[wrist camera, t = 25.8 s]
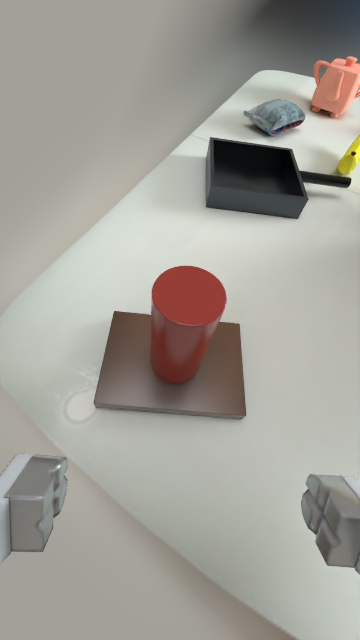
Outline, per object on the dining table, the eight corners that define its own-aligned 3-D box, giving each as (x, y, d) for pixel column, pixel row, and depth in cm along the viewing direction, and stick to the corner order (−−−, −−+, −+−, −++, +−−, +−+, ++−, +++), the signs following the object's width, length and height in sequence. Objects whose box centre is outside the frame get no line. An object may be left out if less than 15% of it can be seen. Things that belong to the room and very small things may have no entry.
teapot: (296, 96, 72) (316, 44, 64) (336, 99, 74) (360, 49, 66) (316, 122, 65) (342, 66, 56) (360, 124, 67) (391, 71, 58)
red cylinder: (147, 381, 26) (147, 321, 16) (153, 335, 28) (156, 261, 19) (199, 386, 26) (228, 330, 16) (200, 340, 28) (225, 269, 19)
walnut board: (96, 407, 25) (93, 403, 24) (115, 318, 31) (114, 310, 29) (241, 419, 26) (246, 415, 25) (235, 330, 31) (239, 323, 30)
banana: (362, 153, 59) (384, 119, 53) (339, 191, 50) (363, 155, 44) (350, 148, 59) (370, 114, 54) (324, 184, 50) (346, 148, 45)
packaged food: (240, 125, 60) (247, 98, 55) (273, 114, 64) (282, 89, 60) (269, 143, 57) (279, 116, 52) (301, 131, 61) (313, 106, 57)
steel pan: (206, 207, 43) (210, 185, 40) (206, 157, 51) (210, 136, 48) (350, 225, 44) (365, 206, 41) (328, 174, 52) (339, 155, 49)
